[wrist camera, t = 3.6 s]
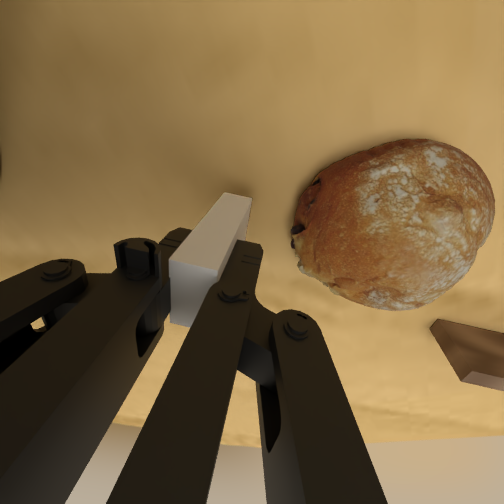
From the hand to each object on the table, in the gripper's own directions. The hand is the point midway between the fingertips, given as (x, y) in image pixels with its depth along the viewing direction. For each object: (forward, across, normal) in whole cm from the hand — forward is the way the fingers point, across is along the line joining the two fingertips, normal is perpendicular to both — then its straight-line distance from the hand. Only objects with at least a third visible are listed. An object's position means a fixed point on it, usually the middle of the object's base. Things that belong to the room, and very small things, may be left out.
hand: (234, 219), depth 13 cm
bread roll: (+4, +8, 0) cm, 9 cm away
